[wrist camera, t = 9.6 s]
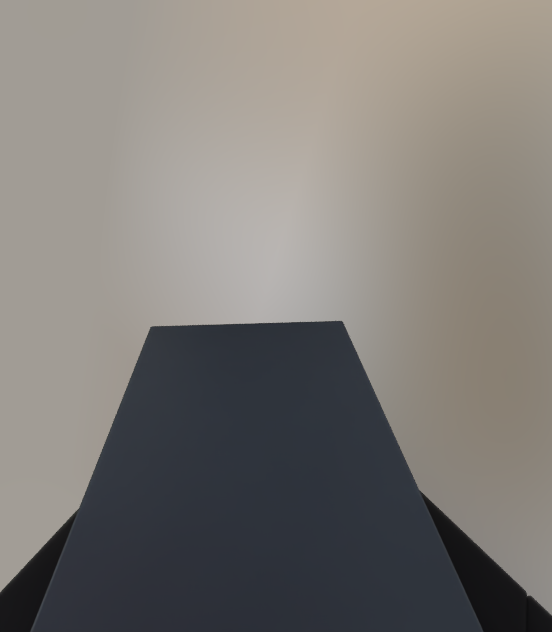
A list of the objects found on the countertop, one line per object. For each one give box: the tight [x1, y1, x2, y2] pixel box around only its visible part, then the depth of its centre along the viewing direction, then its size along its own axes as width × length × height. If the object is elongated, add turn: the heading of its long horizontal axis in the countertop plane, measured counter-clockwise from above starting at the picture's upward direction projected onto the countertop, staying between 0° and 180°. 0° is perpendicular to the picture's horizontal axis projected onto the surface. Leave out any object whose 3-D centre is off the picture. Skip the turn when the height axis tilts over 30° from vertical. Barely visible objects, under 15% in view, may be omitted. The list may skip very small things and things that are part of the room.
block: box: [31, 321, 483, 632], centre depth 8 cm, size 4×4×8 cm
